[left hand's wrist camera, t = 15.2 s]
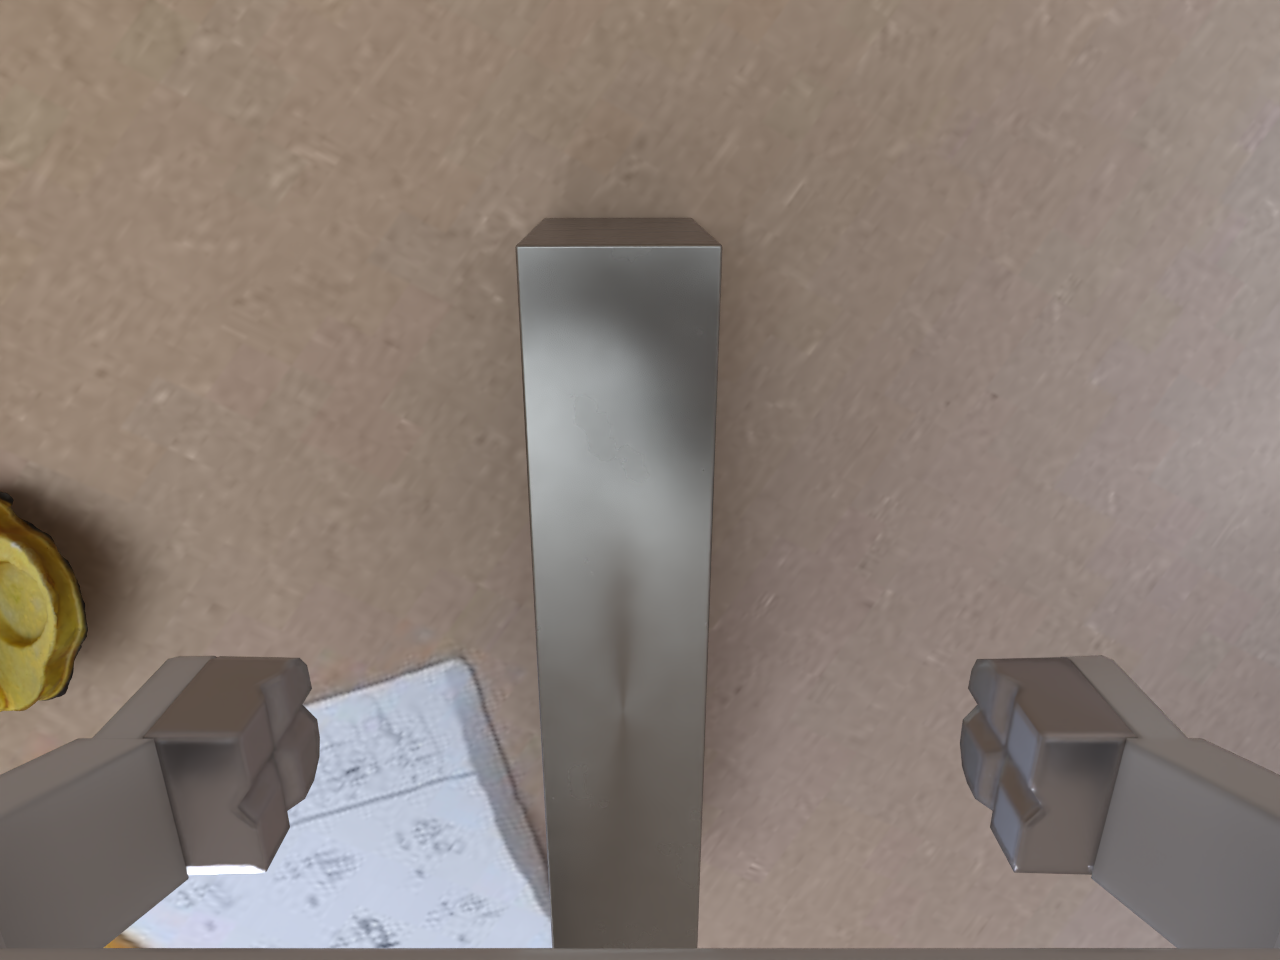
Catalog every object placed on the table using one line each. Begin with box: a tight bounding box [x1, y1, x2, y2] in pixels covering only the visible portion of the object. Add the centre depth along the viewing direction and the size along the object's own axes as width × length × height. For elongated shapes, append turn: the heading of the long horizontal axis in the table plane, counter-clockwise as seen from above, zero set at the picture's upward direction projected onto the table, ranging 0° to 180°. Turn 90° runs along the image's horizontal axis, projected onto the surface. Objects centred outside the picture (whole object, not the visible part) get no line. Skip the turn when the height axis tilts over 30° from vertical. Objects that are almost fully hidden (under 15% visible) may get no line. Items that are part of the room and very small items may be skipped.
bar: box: [516, 218, 722, 948], centre depth 29 cm, size 27×5×8 cm, turn 0°
